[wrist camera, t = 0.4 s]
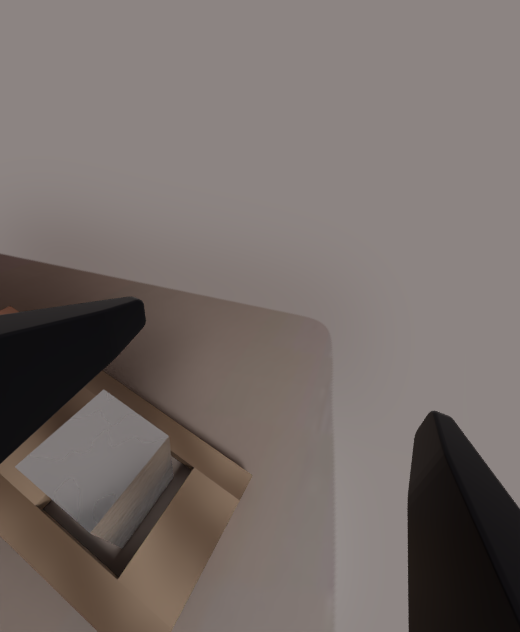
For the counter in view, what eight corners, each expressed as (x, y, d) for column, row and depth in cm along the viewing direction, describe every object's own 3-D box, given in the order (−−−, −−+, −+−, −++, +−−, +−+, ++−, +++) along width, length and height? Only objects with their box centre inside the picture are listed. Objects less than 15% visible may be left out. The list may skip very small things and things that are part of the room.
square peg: (122, 548, 17) (89, 533, 11) (69, 502, 18) (14, 466, 12) (173, 477, 20) (169, 436, 14) (126, 441, 21) (103, 389, 15)
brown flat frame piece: (148, 672, 14) (146, 678, 13) (-138, 395, 19) (-153, 386, 19) (249, 479, 21) (252, 475, 20) (15, 314, 26) (9, 305, 25)
